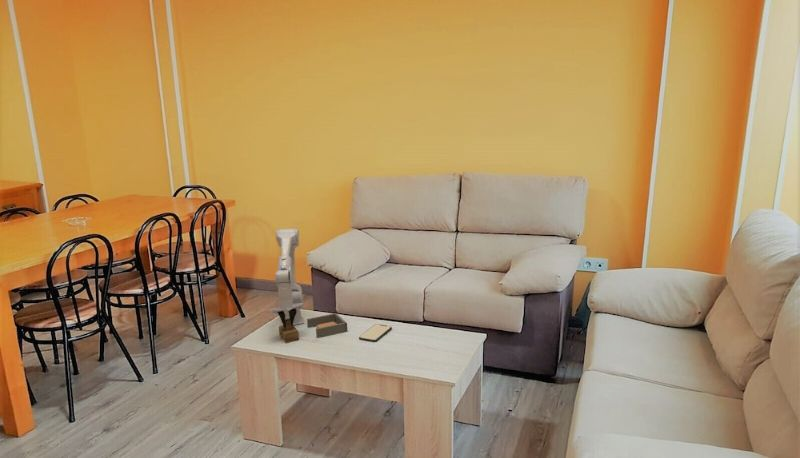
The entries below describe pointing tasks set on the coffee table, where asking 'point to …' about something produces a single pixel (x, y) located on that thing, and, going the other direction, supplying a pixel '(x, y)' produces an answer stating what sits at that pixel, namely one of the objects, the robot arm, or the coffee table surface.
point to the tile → (325, 324)
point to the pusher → (288, 332)
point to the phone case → (375, 333)
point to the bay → (328, 330)
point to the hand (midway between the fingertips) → (288, 326)
